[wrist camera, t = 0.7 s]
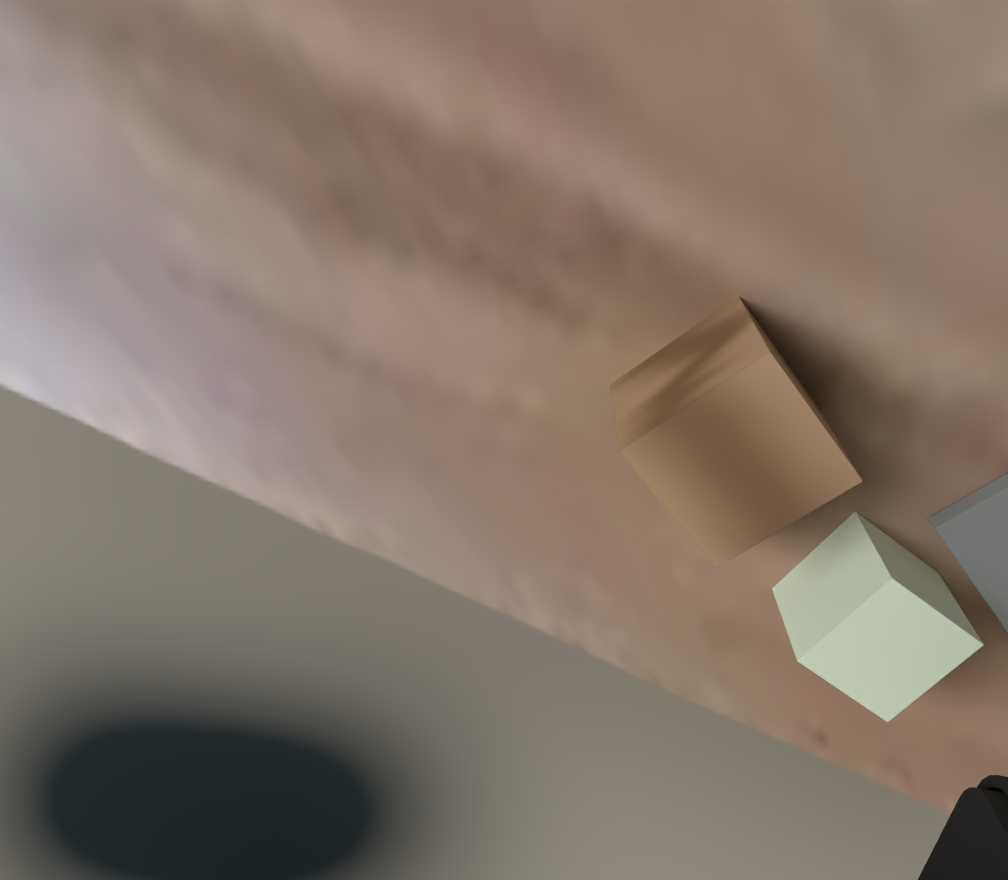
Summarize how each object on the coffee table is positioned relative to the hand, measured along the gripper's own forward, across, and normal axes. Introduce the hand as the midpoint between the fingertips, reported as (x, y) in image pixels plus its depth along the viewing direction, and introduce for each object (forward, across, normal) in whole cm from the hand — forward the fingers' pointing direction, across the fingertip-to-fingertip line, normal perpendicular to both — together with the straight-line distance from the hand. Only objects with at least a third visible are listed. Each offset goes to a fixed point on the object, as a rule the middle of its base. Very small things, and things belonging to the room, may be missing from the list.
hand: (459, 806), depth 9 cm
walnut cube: (+29, -9, +6) cm, 31 cm away
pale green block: (+29, -17, +13) cm, 37 cm away
